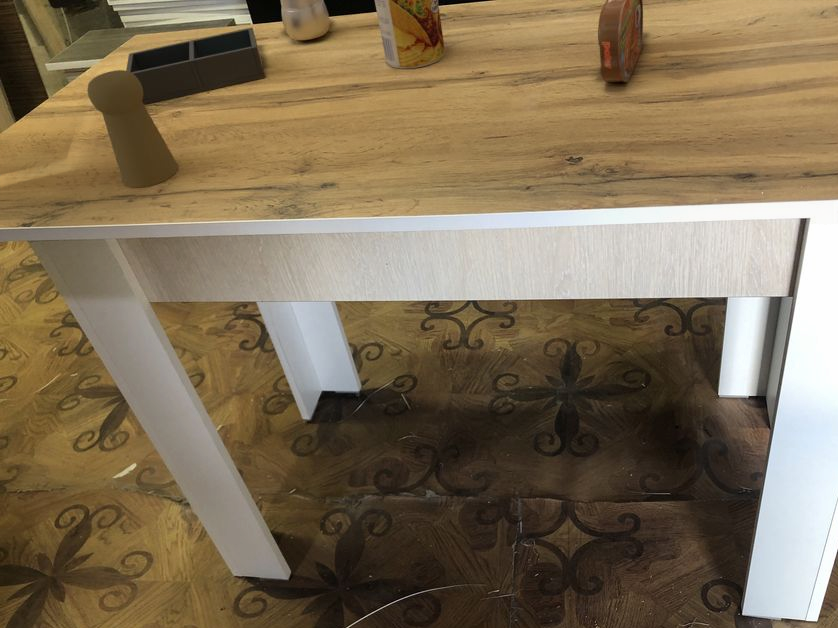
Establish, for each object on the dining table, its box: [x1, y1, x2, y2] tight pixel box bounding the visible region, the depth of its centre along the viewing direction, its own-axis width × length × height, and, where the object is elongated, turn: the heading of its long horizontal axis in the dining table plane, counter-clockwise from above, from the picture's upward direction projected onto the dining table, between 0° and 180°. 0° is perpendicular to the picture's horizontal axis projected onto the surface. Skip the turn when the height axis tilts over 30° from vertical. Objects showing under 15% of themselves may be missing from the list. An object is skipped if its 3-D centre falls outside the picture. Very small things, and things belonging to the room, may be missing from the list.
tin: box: [597, 0, 644, 83], centre depth 88 cm, size 15×3×8 cm, turn 161°
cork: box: [86, 69, 179, 189], centre depth 81 cm, size 6×6×11 cm
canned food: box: [374, 0, 446, 70], centre depth 98 cm, size 8×8×12 cm
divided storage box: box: [125, 27, 266, 105], centre depth 104 cm, size 17×9×4 cm, turn 106°
